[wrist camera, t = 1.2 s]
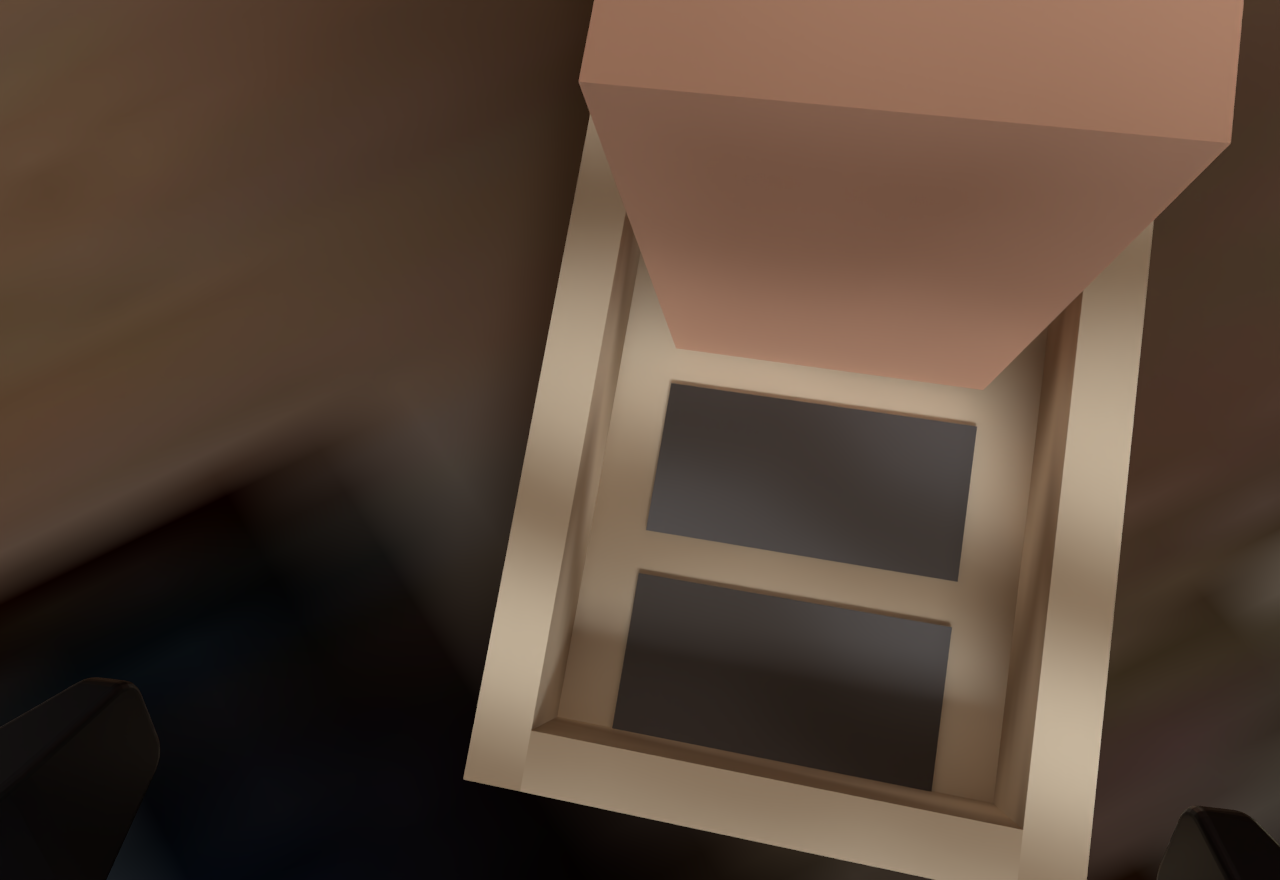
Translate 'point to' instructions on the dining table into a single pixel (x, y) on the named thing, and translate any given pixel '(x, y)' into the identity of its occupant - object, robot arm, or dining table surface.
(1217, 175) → the dining table surface
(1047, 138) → the block
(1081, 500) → the beige tray
